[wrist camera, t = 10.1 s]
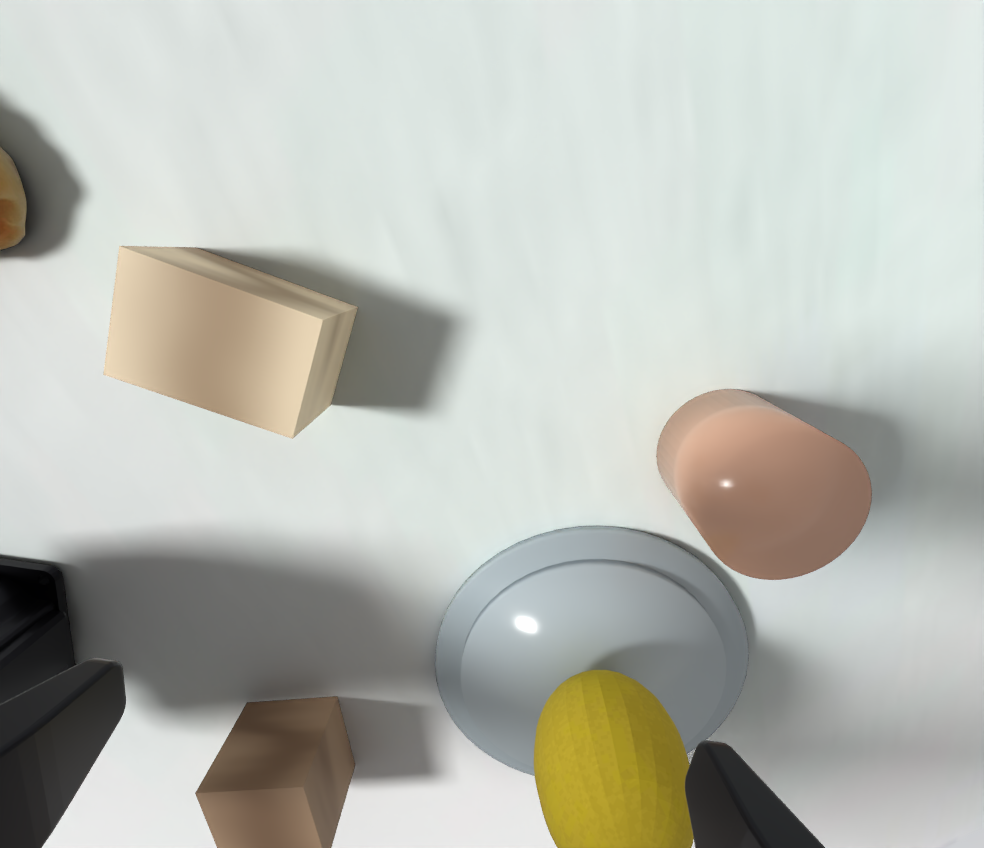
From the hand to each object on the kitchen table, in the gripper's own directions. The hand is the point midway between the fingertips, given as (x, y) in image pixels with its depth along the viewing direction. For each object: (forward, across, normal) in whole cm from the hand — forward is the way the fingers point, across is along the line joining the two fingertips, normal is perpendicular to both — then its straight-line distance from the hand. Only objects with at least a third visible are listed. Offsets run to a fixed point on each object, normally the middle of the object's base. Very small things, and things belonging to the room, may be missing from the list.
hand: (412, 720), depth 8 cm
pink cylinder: (+13, -10, -1) cm, 17 cm away
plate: (+13, -7, +10) cm, 18 cm away
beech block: (+13, +8, -3) cm, 16 cm away
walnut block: (+13, +6, +17) cm, 22 cm away
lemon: (+12, -7, +10) cm, 17 cm away
